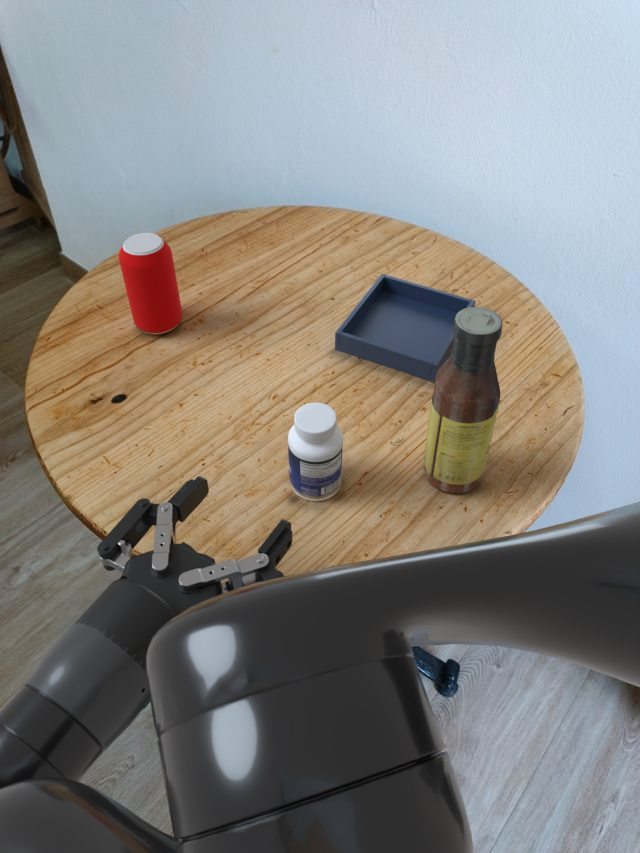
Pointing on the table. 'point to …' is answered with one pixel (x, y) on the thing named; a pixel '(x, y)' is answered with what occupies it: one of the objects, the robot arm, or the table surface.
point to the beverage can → (150, 283)
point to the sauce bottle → (464, 404)
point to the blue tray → (402, 327)
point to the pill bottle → (315, 452)
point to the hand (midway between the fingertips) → (245, 504)
